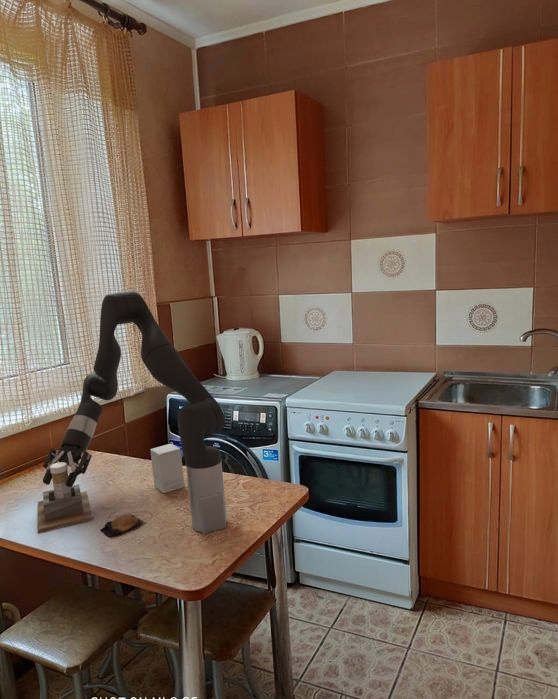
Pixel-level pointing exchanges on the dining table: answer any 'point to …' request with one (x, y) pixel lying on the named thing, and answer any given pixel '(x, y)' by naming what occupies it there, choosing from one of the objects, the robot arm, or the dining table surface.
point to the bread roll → (122, 525)
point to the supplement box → (167, 468)
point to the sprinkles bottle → (60, 480)
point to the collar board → (63, 510)
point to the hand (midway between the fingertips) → (56, 485)
